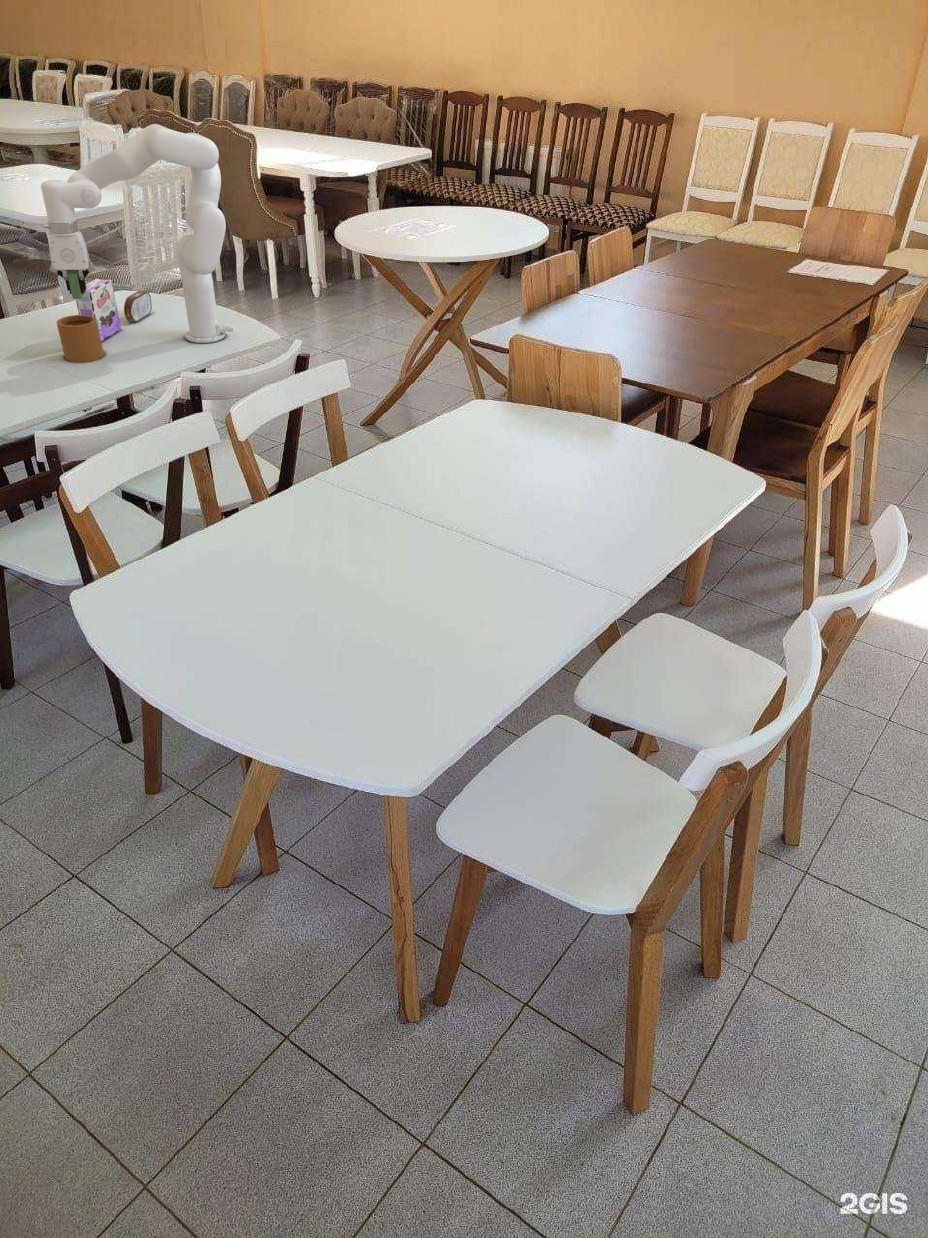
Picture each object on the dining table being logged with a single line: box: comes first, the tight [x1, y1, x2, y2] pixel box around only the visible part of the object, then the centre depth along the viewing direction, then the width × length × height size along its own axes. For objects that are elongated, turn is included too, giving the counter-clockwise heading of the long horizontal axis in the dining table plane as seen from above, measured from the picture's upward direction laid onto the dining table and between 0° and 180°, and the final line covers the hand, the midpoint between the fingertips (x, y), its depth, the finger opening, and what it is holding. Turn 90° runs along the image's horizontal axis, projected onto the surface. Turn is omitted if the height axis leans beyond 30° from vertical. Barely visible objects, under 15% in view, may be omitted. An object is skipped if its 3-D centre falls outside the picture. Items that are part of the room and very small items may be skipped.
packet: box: [67, 270, 84, 300], centre depth 272 cm, size 3×6×8 cm, turn 10°
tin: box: [123, 290, 153, 323], centre depth 312 cm, size 15×3×8 cm, turn 169°
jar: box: [56, 314, 105, 363], centre depth 281 cm, size 11×11×11 cm
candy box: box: [75, 278, 122, 342], centre depth 295 cm, size 14×6×16 cm, turn 168°
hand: (77, 292), depth 273 cm, fingers closed on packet, 2 cm apart
